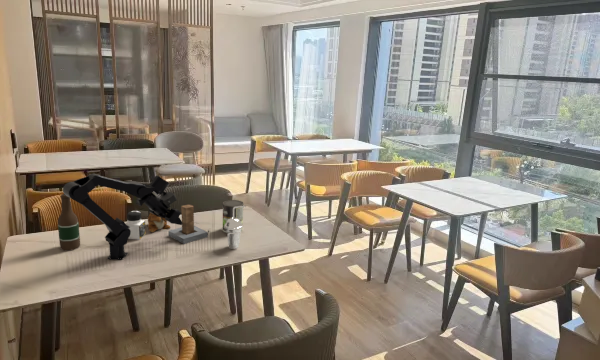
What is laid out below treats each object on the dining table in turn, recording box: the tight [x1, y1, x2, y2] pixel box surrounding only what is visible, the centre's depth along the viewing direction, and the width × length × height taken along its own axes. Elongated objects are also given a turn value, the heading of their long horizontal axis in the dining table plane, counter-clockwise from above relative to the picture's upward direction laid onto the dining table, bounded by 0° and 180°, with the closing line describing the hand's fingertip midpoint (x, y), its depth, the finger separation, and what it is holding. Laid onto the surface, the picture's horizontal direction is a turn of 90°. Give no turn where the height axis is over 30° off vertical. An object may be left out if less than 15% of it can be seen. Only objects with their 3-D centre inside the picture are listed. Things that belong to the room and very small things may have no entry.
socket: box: [168, 225, 209, 245], centre depth 201 cm, size 13×13×2 cm
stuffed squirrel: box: [147, 212, 171, 233], centre depth 209 cm, size 10×14×13 cm
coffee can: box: [221, 199, 245, 234], centre depth 210 cm, size 10×10×14 cm
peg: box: [180, 204, 195, 235], centre depth 200 cm, size 4×4×15 cm
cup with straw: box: [224, 205, 246, 250], centre depth 189 cm, size 8×9×20 cm
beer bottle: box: [57, 193, 81, 251], centre depth 181 cm, size 8×8×24 cm
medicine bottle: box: [124, 210, 146, 241], centre depth 197 cm, size 7×7×12 cm
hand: (176, 221), depth 195 cm, fingers open, 9 cm apart
